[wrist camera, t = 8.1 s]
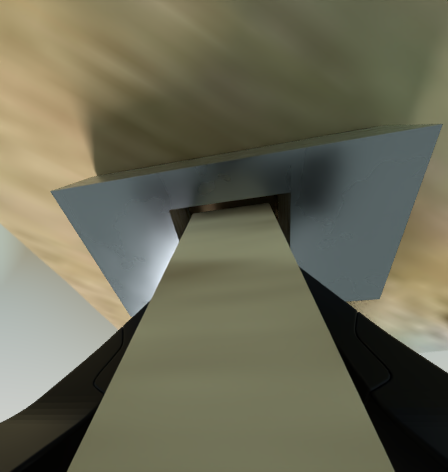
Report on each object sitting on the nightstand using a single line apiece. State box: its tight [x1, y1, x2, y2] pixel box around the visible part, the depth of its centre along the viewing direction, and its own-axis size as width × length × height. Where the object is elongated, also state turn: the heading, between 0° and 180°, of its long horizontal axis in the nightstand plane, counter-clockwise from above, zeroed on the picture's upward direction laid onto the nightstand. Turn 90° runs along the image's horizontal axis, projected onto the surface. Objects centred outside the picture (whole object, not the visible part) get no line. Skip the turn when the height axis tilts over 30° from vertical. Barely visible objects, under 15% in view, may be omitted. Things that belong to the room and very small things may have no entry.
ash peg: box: [67, 203, 395, 472], centre depth 7 cm, size 4×4×9 cm
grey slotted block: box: [50, 124, 443, 316], centre depth 11 cm, size 9×16×3 cm, turn 99°
